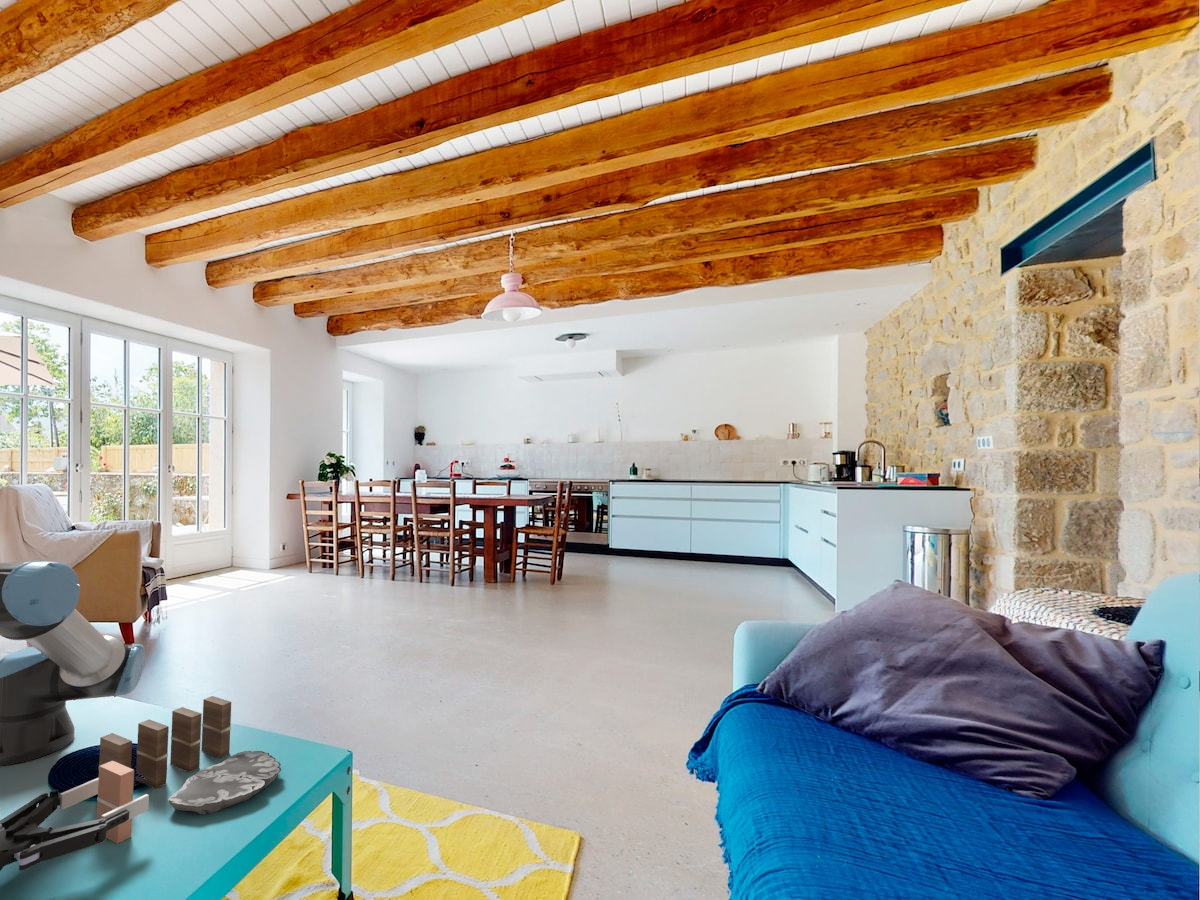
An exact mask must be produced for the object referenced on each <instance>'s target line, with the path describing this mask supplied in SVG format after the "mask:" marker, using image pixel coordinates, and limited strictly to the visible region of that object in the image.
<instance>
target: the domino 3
mask: <svg viewBox="0 0 1200 900" xmlns="http://www.w3.org/2000/svg"><path fill="white" fill-rule="evenodd" d="M137 724H138V725H137V726H138V727H137V728H138V729H137V746H136V747H137V748H136V767H135V768H136V769H135V771H136V772H135V774H136V773H137V774H139V775H142V776H143V777H145V778H146V779H147V780H146V779H143V778H141V777H139V776H136V775H135V781H136V782H139V783H141V784H143V785H146V786H148V787H150V788H153V789H155V790H156V789H158V788H160V787H164V785H166V784H167V774H168V773H167V772H168V771H167V770H168V757H169V752H168V749H169V748H168V747H169V732H170V731H169V728H170V727H169V726H168V725H166V724H163V723H160V722H157V721H154V720H152V719H146V720H144V721H141V722H139V723H137Z"/></svg>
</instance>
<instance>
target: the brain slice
mask: <svg viewBox="0 0 1200 900" xmlns="http://www.w3.org/2000/svg"><path fill="white" fill-rule="evenodd" d="M281 771H282V768H281V762H280V761H278V760H277V759H276V758H275V756H273V755H270V753H269V752H264V751H262V750H253V751H252V750H244V751H240V752H237V753H235V754H233V755H231V756H229V757H228V758H226V759H225V760H224V761H221V762H219V763H217V764H213V765H211V766H209V767H205V768H203V769H201V770H199V771H198V772H196V773H195V774H193V775H192V776H190V777H188V778H187V779H186V780H185V782H184V783H183V784H182V787H181V788H180V789H179V790H177V791H175V792H174V793H173V794H172V795H171V796H170V797H168V803H169V805H170V806H171V807H172V808H173V809H175V810H178V811H183V812H193V813H194V812H195V813H198V814H199V815H206V814H207V813H208V814H213V813H216V812H220V811H221V810H222V809H225V808H228V807H232V806H235V805H237V804H239V803H241V802H242V803H243V802H246V801H248V800H249V799H251V798H252V797H254V796H255V795H257V794H258V792H260V791H262V790H263V789H266V787H268V786H269V785H270V784H271V783H273V781H275V779H276V778H277V776H278V774H280V772H281Z"/></svg>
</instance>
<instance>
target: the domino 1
mask: <svg viewBox="0 0 1200 900" xmlns="http://www.w3.org/2000/svg"><path fill="white" fill-rule="evenodd" d="M99 738H100V739H99V740H100V743H99V760H98V761H99V762H98V763H99V764H98V767H99V766H101V765H103V764H105V763H108V762H110V761H115V762H117V763H119V764H122V765H124V766H126V767H129V768H131V769H132V751H133V740H132V739H129V738H126V737H123V736H121V735H119V734H116V733H114V732H112V733H109V734H106V735H103V736H101V737H99Z"/></svg>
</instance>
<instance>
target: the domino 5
mask: <svg viewBox="0 0 1200 900" xmlns="http://www.w3.org/2000/svg"><path fill="white" fill-rule="evenodd" d="M202 702H203V706H202V723H201V747H200V752H204V753H207V754H209V755H211V756H215V757H217V758H219V759H221V758H223V757H226V756H228V755H230V748H231V747H230V745H231V728H232V726H231V721H232V720H231V719H232V701H230V700H228V699H227V700H226V699H223V698H221V697H218V696H213V695H211V696H209V697H206V698H204V699H203V701H202Z"/></svg>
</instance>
